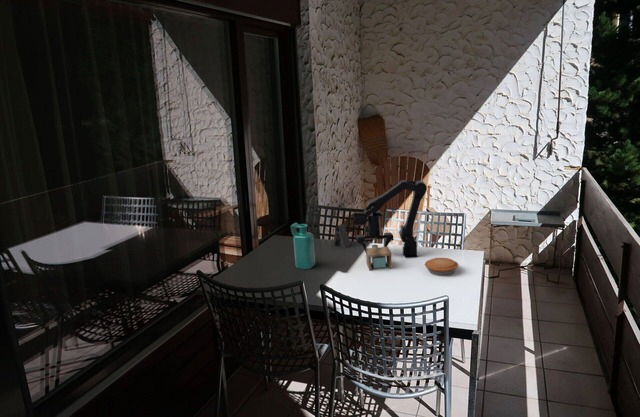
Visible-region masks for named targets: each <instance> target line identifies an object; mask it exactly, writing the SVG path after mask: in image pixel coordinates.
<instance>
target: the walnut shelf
mask: <svg viewBox="0 0 640 417" xmlns="http://www.w3.org/2000/svg"><path fill="white" fill-rule="evenodd" d="M365 255H366V256H365V257H366V265H367V268H368V271H372V257H376V256H385V257H386V264H387V267H388V268H389V270H393V264H392V263H393V261H392V252H391V250H390V248H389V246H387V247H384V246H381V247H379V246H378V248H372V247H368V248H367V247H366V253H365Z"/></svg>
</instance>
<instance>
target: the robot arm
mask: <svg viewBox="0 0 640 417" xmlns="http://www.w3.org/2000/svg"><path fill="white" fill-rule="evenodd" d="M404 190H406V191H411V192H412V199H411V203H410V207H409V210H408V214H407V217H406V220H405V223H404V225H400V229H399V232H398V234H399V237H400V240H401V242H403V246H402V255H403V256H404V257H405V258H418V257H419V256H418V244H417V243H418V242H417V240H416V238H415V236H414V224H415V221H416V218H417V214H418V211H419V208H420V204H421V201H422V199H423V198H424V196H425V195H426V192H427V190H428V186H427V185H426V183H425V182H424V180H419V179H418V180H417V181H415V180H414V181H413V180H404V179H403V180H399V182H398V183H396V184H395V185H394V186H392V187H391V188H390V189H388V190H386V191H385V192H384V193H382V194H381V195H379V196H376V197H374V198H372V199H370V200H368V202H367V206H366V208H365V209H364V210H363V211H359V212H358V211H354V212H353V226H354V227H355V226H364V227H363V228H364V233H367V235H366V236H365V234H356V236H355V240H356V243H357V244H359V245H361V246H362V247H363V250H364V252H365V254H366V248H367V244H366V241H369V240H371V241H372V240H383V247H389V246H388V245H389V243H391V242H392V241H394V234H393V233H392V232H384V233H383V234H381V225H380V224H381V222H380V221H381V220H380V217H383V216H384V214H383V213H382V212H381V210H380V209H382V207H383V206H384V205H385V204H386V203H387V202H389V201H390V200H391V199H393V198H395V197H396V196H397V195H398V194H400V193H401V192H403V191H404ZM367 223H368V225H367ZM365 225H366V226H365Z"/></svg>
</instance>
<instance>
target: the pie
mask: <svg viewBox="0 0 640 417" xmlns="http://www.w3.org/2000/svg"><path fill="white" fill-rule="evenodd" d="M423 265H424V266H425V268H426V269H427V271H428V272H429V273H430V274H432V275H434V276H449V275H452V274H454V273H455V271H456V269H457V268H458V267H459V263H458V262H457V261H455V260H453V259H452V258H448V257H433V258H431V259H428V260H426V261H425V263H424V264H423Z"/></svg>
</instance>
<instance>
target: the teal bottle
mask: <svg viewBox="0 0 640 417" xmlns="http://www.w3.org/2000/svg"><path fill="white" fill-rule="evenodd" d="M289 227H290V231H291V234H292V236H293V248H294V249H293V250H294V263H295V268H296V269H300V270H310V269H312V268H314V266H315V265H316V257H315V256H316V255H315V254H316V253H315V242H314V241H315V240H314V234H313V233H311V232H308V231H307V227H309V226H308V224H307V223H300V224H299V223H298V222H294V223H293V224H291V225H290V226H289ZM297 229H298V230H297Z"/></svg>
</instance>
